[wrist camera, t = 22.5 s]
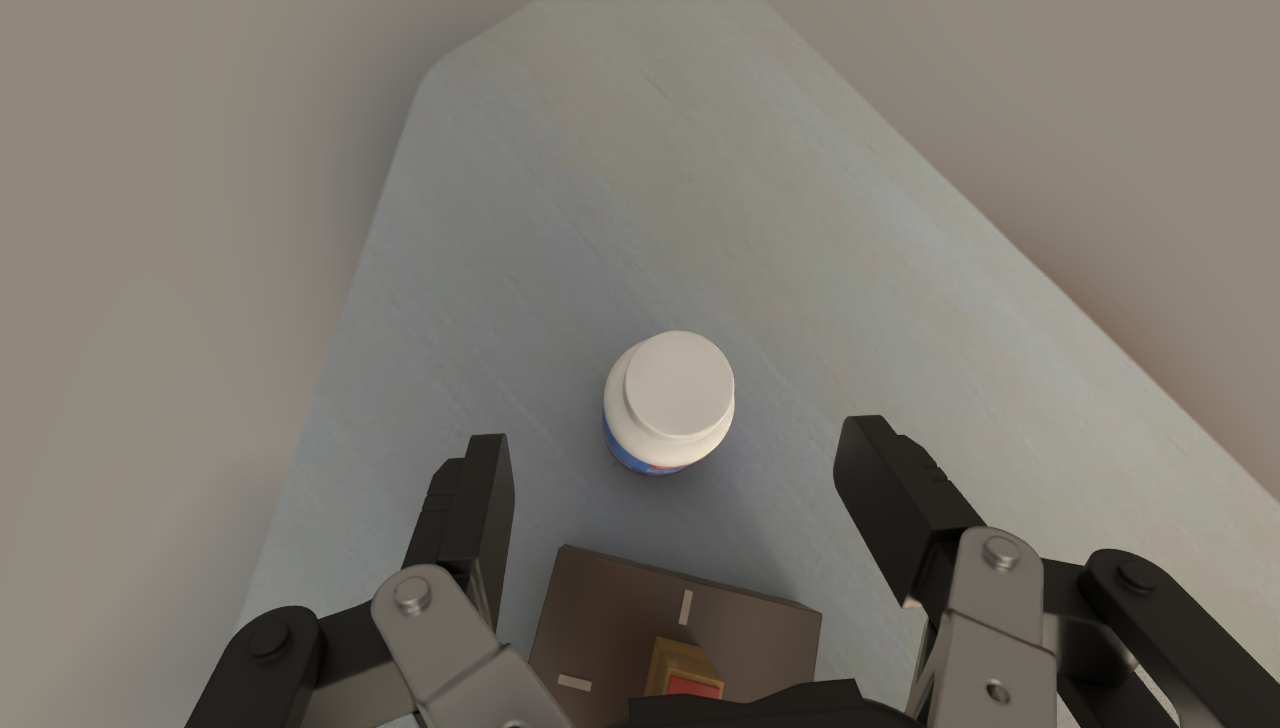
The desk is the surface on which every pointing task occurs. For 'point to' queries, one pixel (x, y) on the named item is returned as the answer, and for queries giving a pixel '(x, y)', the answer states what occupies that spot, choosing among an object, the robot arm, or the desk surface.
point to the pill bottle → (667, 403)
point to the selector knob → (681, 671)
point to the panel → (660, 634)
